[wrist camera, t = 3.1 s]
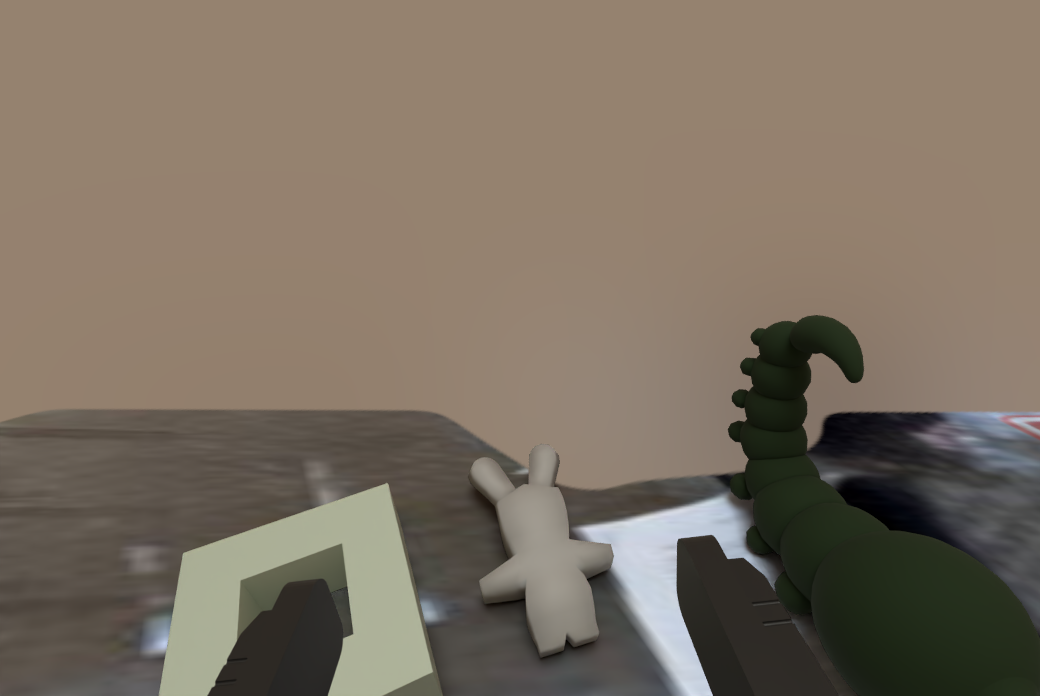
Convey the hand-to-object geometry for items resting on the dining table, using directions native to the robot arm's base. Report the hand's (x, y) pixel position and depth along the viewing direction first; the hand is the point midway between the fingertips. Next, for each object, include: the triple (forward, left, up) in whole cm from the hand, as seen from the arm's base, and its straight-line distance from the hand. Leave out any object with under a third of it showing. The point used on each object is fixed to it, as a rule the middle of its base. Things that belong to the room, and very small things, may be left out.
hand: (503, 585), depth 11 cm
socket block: (-10, +14, -24) cm, 29 cm away
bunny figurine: (+6, +14, -24) cm, 28 cm away
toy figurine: (+23, +3, -24) cm, 33 cm away
